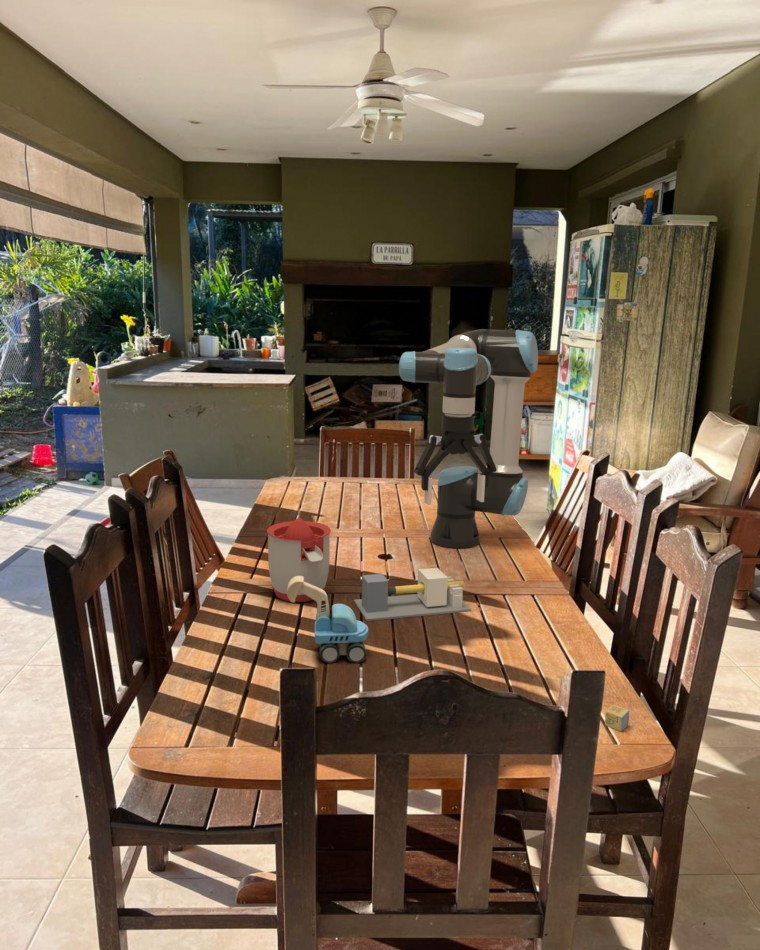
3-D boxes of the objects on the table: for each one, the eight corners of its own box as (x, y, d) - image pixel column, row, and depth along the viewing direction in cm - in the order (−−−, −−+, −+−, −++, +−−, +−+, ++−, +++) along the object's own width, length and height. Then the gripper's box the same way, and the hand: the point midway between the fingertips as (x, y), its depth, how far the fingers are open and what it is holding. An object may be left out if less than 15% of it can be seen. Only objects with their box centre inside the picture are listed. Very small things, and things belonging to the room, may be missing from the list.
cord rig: (453, 592, 192) (454, 562, 191) (471, 611, 181) (473, 579, 179) (354, 601, 185) (354, 570, 184) (366, 621, 174) (367, 588, 172)
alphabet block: (621, 732, 131) (622, 716, 130) (604, 725, 133) (605, 710, 132) (628, 725, 133) (630, 710, 133) (611, 719, 135) (613, 703, 135)
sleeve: (436, 594, 188) (437, 567, 187) (446, 605, 182) (447, 577, 180) (417, 596, 187) (418, 569, 186) (426, 607, 181) (427, 579, 179)
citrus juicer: (287, 614, 177) (286, 532, 173) (257, 590, 192) (256, 514, 187) (345, 601, 185) (346, 523, 181) (312, 579, 200) (312, 506, 195)
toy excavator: (288, 646, 161) (287, 569, 157) (366, 644, 162) (367, 569, 159) (286, 664, 153) (286, 584, 149) (369, 663, 154) (370, 584, 150)
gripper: (499, 411, 185) (494, 495, 189) (402, 413, 177) (400, 500, 182) (513, 415, 178) (508, 503, 182) (413, 417, 170) (410, 508, 175)
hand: (454, 502), depth 182 cm, fingers open, 13 cm apart
